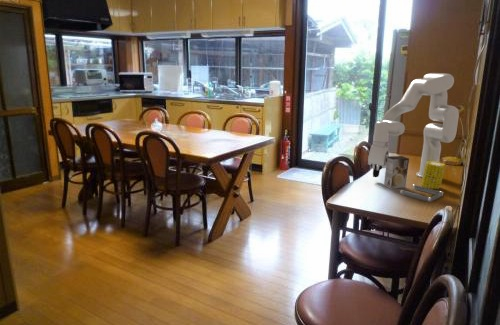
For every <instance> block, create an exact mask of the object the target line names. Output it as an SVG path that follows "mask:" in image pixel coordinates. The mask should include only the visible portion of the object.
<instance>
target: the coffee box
mask: <svg viewBox="0 0 500 325" xmlns="http://www.w3.org/2000/svg"><path fill="white" fill-rule="evenodd" d="M409 162H410V158H408V157H406V156H402V155H393V156H391V155H389V156H387V163H386V168H385V173H384V181H383V185H384V186H385V187H387V188H389V189H404V188H406V185H407V177H408V171H409V169H408V168H409Z"/></svg>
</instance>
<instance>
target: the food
mask: <svg viewBox="0 0 500 325" xmlns="http://www.w3.org/2000/svg"><path fill="white" fill-rule="evenodd" d="M445 170H446V164H445V163H444V162H443V163H442V162H440V161H439V162H437V161H436V162H435V161H427V162H426V166H425V169H424V174H423V178H422V177H421V178H422V179H421V183H420V184H421V185H420V186H421V187H425V188H429V189H433V190H439V189H441V184H442V183H443V177H444V174H445Z"/></svg>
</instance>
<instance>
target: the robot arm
mask: <svg viewBox="0 0 500 325" xmlns="http://www.w3.org/2000/svg"><path fill="white" fill-rule="evenodd" d="M454 83H455V78H454V76H453V75H452V74H450V73H445V72H443V73H441V72H440V73H439V72H430V73H429V72H428V73H427V74H424V75H423V78H415V79H413V80H412V81H411V82H410V84H409V86H408V87H407V88H406V91H405V93H404V94H403V95H402V97H401V99H400V100H399V102H397V103H396V104H394V105H392V107H390V108H388V110H386V112H385V113H384V115H383V117H382V119H381V120H377V121H376V122H375V124H374V125H375V126H374V132H373V139H372V140H373V142H372V145H371V146H370V149H369V152H368V157H367V158H368V159H367V161H368V162H367V165H369V166H371V167H372V177H373V178H378V177H379V176H380V171H381V170H382V169H386V163H387V156H390V150H389V149H390V148H389V146H390V143H389V136H396V137H397V136H401V135H403V134H404V133H405V130H406V127H405V125H404V123H403V122H400V121H397V120H396V118H398V117H399V116H400V115H402V114H405V113H408V112H411V111H414V110H415V109H416V107H417V105H418V103H419V101H420V100H421V98H423V96H430V100H429V101H430V102H429V109H428V118H429V119H430V120H431V121H434V122H431V123H428V124H426V125H425V126H424V128H423V144H422V152H421V158H420V159H421V160H420V165H419V171H417V172H416V173H415V175H416V176H417V177H419V178H423V174H424V169H425V166H426V162H427V161H435V162H436V161H437V162H439V163H440V158H441V157H440V156H441V152H442V144H441V143H447V144H448V143H451V142H453V141H454V140H455V138H456V135H457V129H458V123H459V116H460V112H459V109H458V108H457V107H456V106H453V105H449V104H448V97H449V96H448V90H449V89H451V88H452V87H453V85H455V84H454ZM438 122H439V123H438Z"/></svg>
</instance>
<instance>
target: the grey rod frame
mask: <svg viewBox="0 0 500 325" xmlns="http://www.w3.org/2000/svg"><path fill="white" fill-rule="evenodd" d="M412 185H413V187H412V189H413V190H416V191H419V192H420V191H421V192H424V193H427V194H432V195H431V196H427V195H423V194H419V193H414V192H411V191H407V190H404V189H400V190H399V195H403V196H405V197H410V198H413V199H416V200H420V201H423V202H428V203H432V202H433V201H435V200H438V199H439V198H441V197H443V195H444V191H441V190H438V189H431V188H430V189H429V188H425V187H423V186H422V185H417V184H412Z"/></svg>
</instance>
